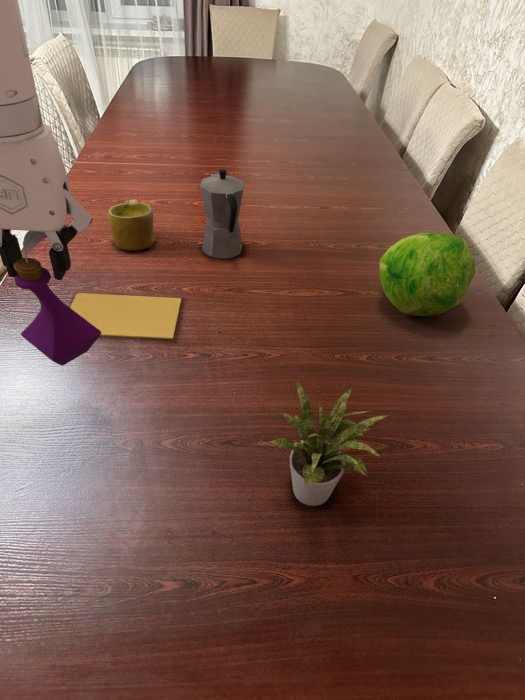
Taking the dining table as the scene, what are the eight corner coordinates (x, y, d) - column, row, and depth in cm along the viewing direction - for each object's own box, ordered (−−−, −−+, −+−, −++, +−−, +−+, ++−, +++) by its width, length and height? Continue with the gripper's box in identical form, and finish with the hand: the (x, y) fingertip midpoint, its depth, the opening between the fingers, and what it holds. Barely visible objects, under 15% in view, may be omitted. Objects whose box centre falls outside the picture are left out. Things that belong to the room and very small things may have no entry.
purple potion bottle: (58, 379, 67) (20, 260, 55) (26, 352, 71) (-16, 234, 58) (106, 350, 71) (81, 234, 59) (73, 326, 75) (43, 211, 63)
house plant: (365, 558, 63) (395, 479, 53) (253, 536, 65) (261, 455, 54) (368, 463, 74) (393, 382, 63) (272, 446, 75) (281, 364, 65)
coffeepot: (194, 236, 120) (192, 158, 108) (234, 232, 122) (235, 155, 110) (211, 272, 109) (211, 190, 97) (254, 266, 111) (259, 186, 100)
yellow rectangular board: (58, 334, 91) (58, 332, 91) (77, 294, 100) (76, 292, 100) (173, 339, 92) (172, 337, 92) (181, 299, 101) (181, 298, 101)
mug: (156, 251, 110) (139, 204, 106) (112, 260, 112) (94, 215, 108) (171, 233, 121) (157, 191, 116) (131, 242, 123) (115, 200, 118)
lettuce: (447, 289, 112) (423, 220, 108) (506, 296, 92) (479, 212, 88) (377, 324, 110) (349, 255, 107) (422, 338, 91) (390, 255, 87)
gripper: (-112, 120, 47) (-47, 285, 59) (77, 134, 48) (103, 295, 60) (-72, 95, 53) (-20, 251, 65) (97, 108, 54) (117, 260, 66)
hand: (39, 271), depth 62 cm, fingers closed on purple potion bottle, 4 cm apart
